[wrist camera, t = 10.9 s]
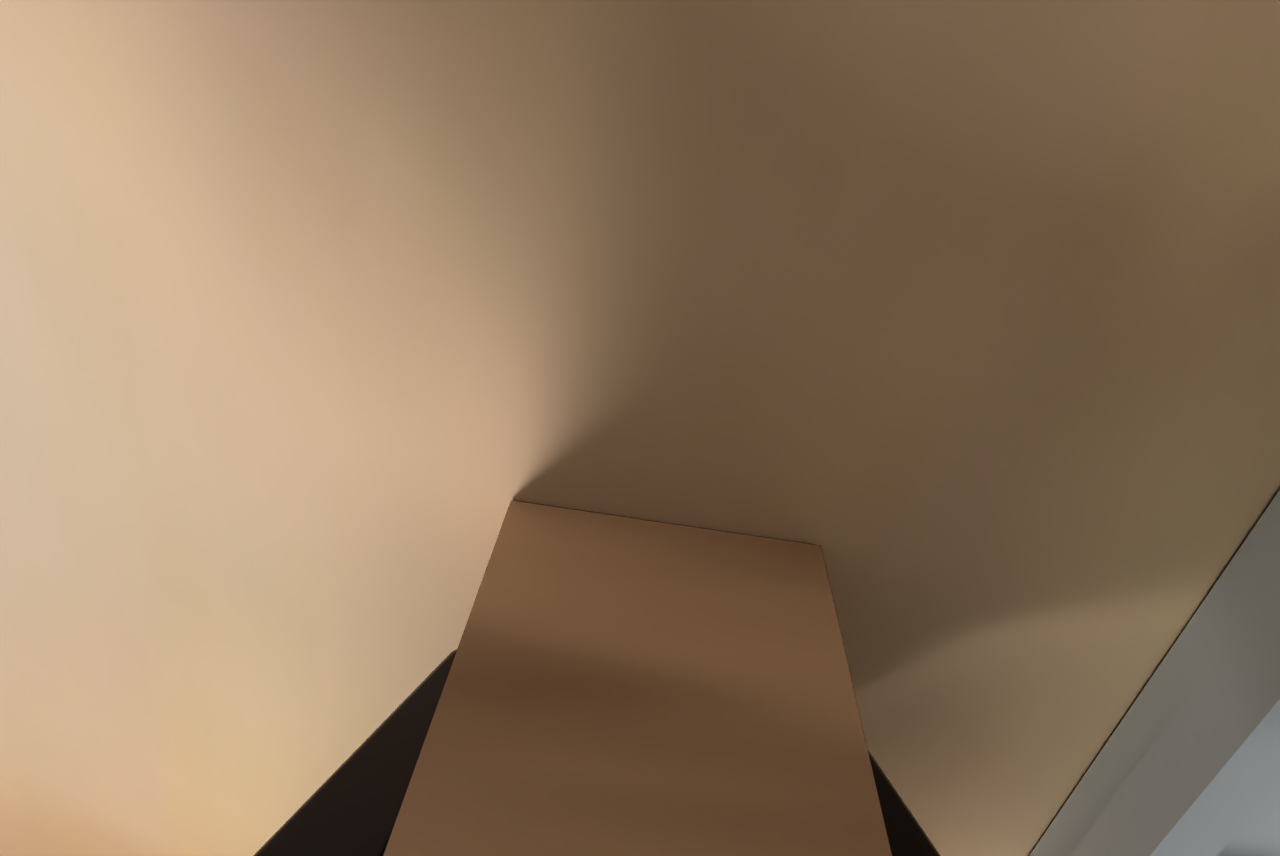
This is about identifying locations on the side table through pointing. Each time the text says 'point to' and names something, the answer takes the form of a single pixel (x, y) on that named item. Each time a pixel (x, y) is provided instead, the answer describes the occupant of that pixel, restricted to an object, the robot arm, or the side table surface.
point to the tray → (1196, 733)
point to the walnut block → (644, 702)
